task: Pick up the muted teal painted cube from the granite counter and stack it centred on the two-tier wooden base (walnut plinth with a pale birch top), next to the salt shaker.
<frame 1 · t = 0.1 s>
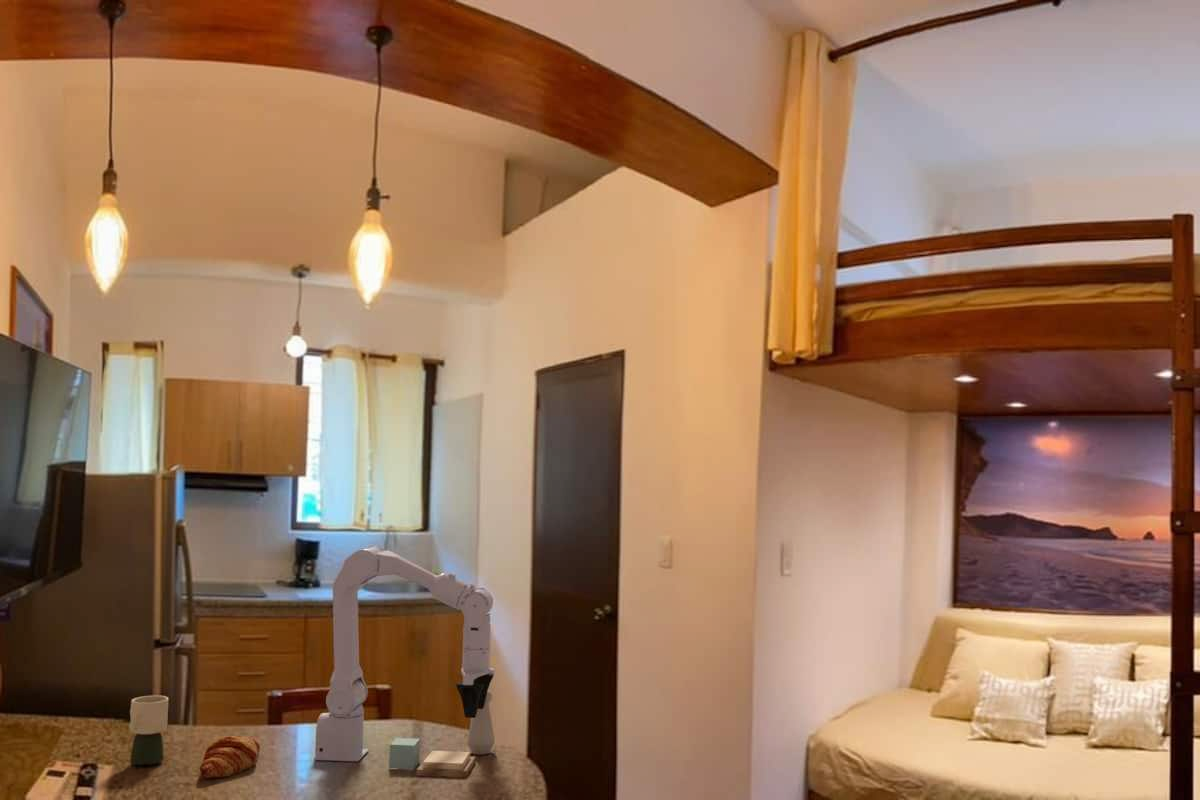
hand: (474, 712, 210), 10 cm above the kitchen counter, tool pointing down, fingers open, 7 cm apart
wooden base: (446, 768, 204), on the kitchen counter
croissant: (232, 769, 203), on the kitchen counter
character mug: (146, 764, 204), on the kitchen counter
teal block: (404, 766, 206), on the kitchen counter
salt shaker: (480, 753, 216), on the kitchen counter, touching gripper
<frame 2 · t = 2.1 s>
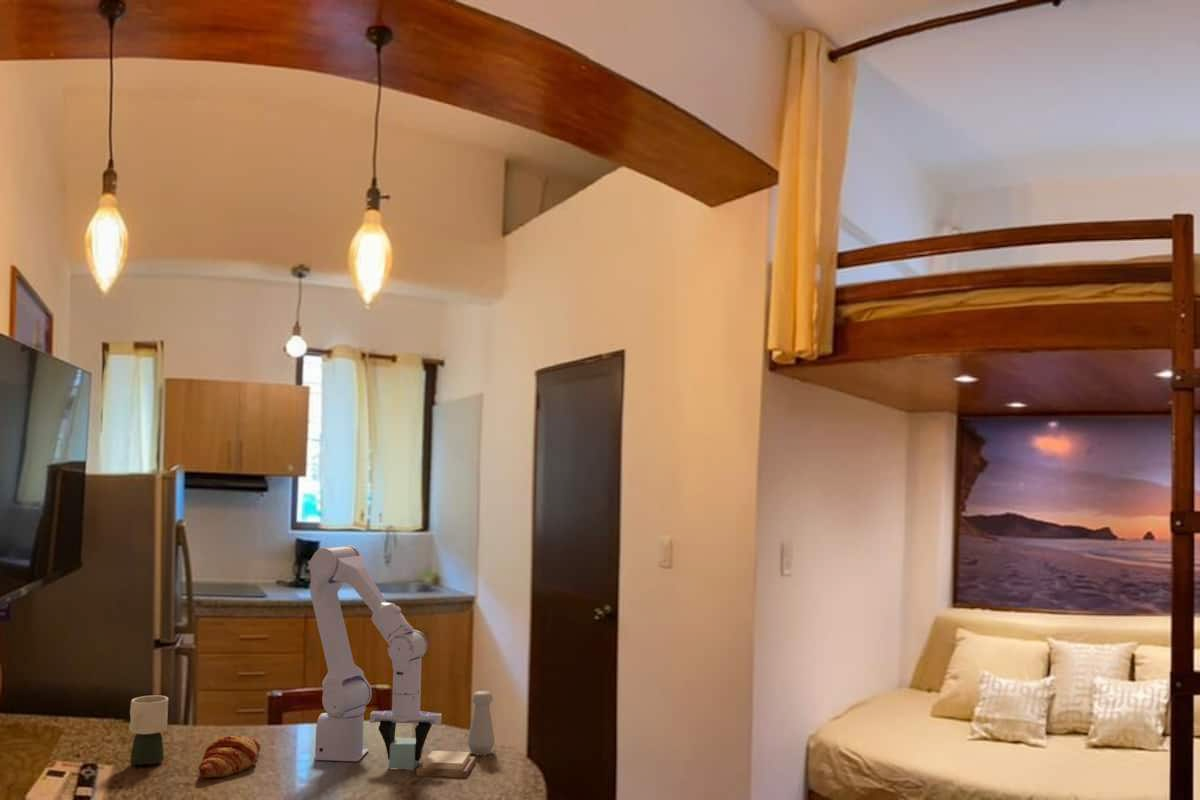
hand: (404, 758, 206), 1 cm above the kitchen counter, tool pointing down, fingers closed on teal block, 5 cm apart
teal block: (404, 765, 206), on the kitchen counter, touching gripper
salt shaker: (480, 754, 216), on the kitchen counter
everything else where it was.
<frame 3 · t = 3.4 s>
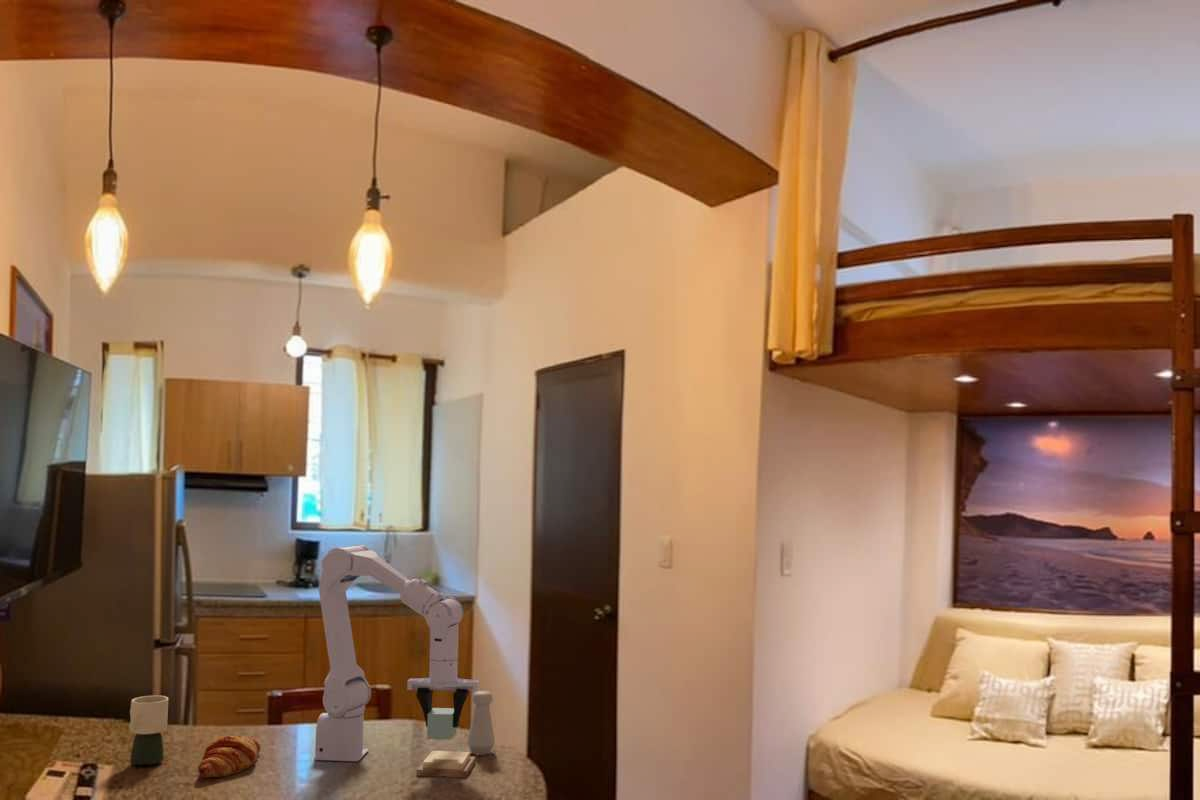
hand: (442, 725, 205), 9 cm above the kitchen counter, tool pointing down, fingers closed on teal block, 5 cm apart
teal block: (441, 735, 205), point 7 cm above the kitchen counter, touching gripper
everything else where it was.
when the fingers open (5 cm above the kitchen counter, at t = 4.7 s): teal block stays where it is, resting on wooden base.
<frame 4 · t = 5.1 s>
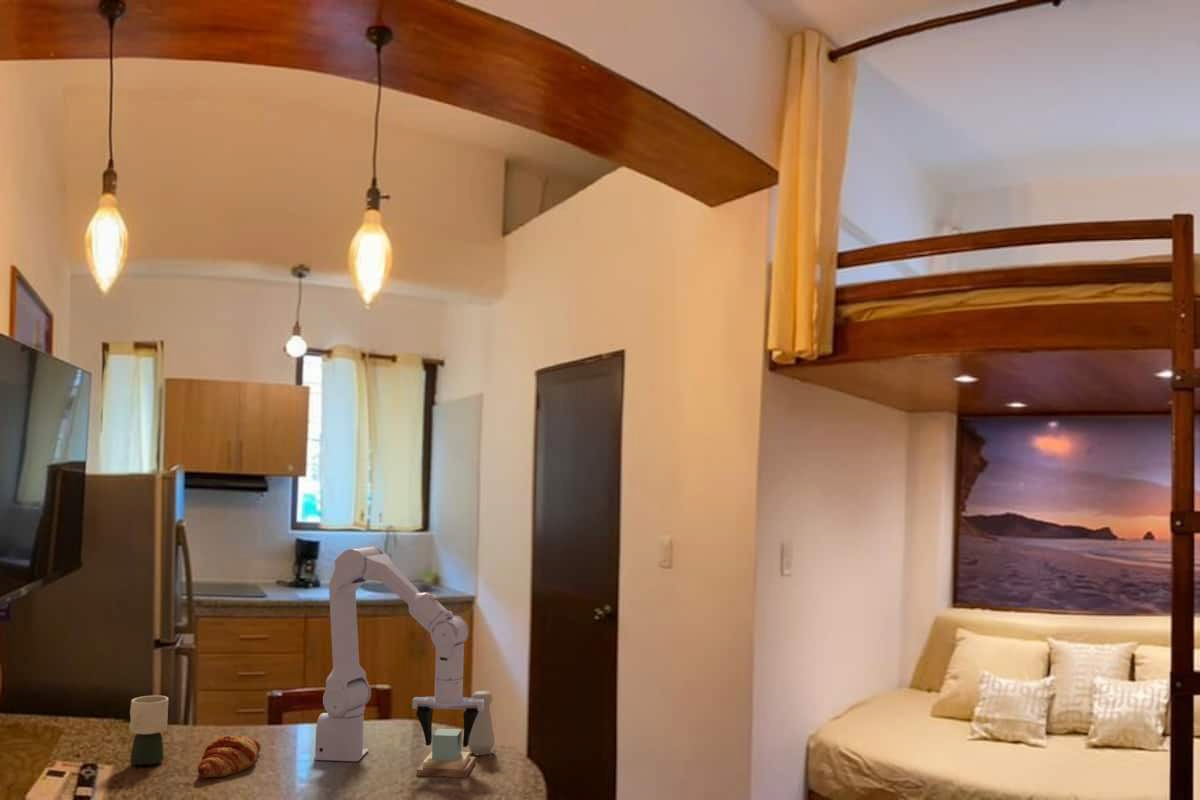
hand: (447, 744, 204), 5 cm above the kitchen counter, tool pointing down, fingers open, 7 cm apart
teal block: (446, 757, 204), point 2 cm above the kitchen counter, touching wooden base
everything else where it was.
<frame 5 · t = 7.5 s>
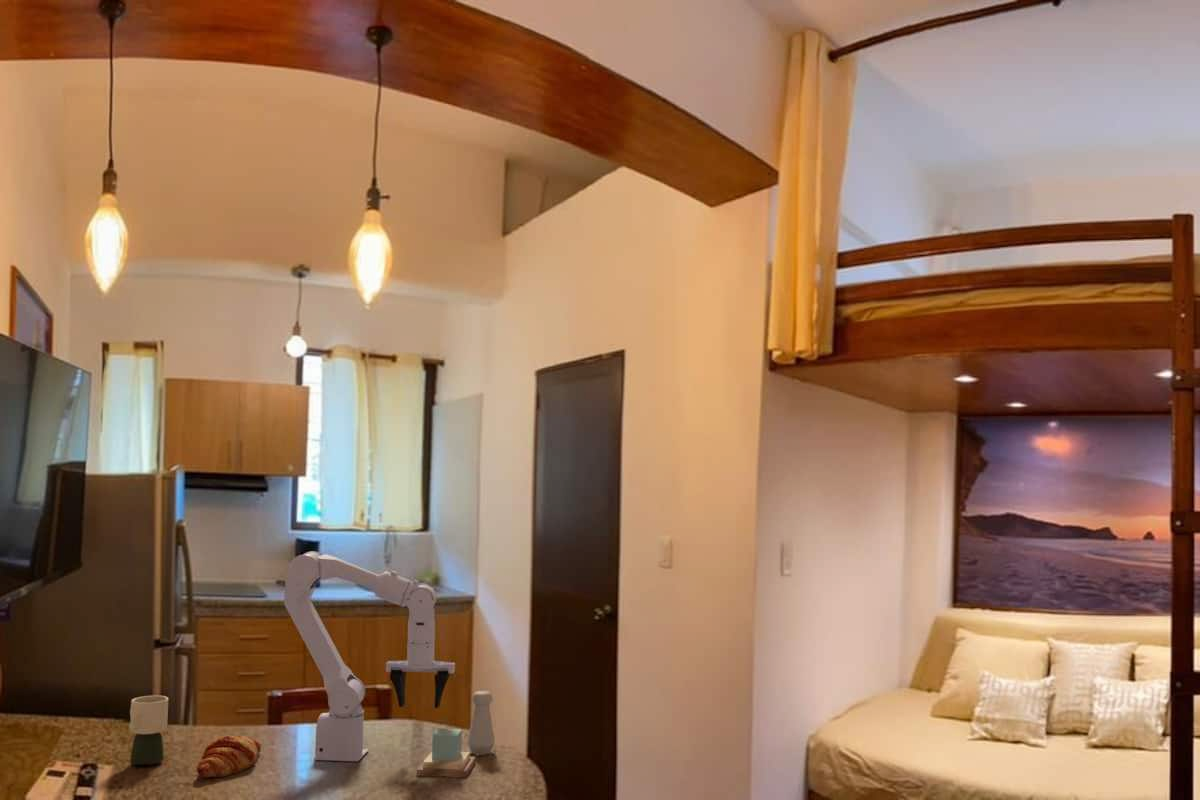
hand: (419, 706, 213), 10 cm above the kitchen counter, tool pointing down, fingers open, 7 cm apart
nothing on the kitchen counter moved.
at the end: teal block 0.1 cm off-centre on the wooden base, point 2.4 cm above the wooden base's base; teal block tilted 0°; the gripper is holding nothing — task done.
